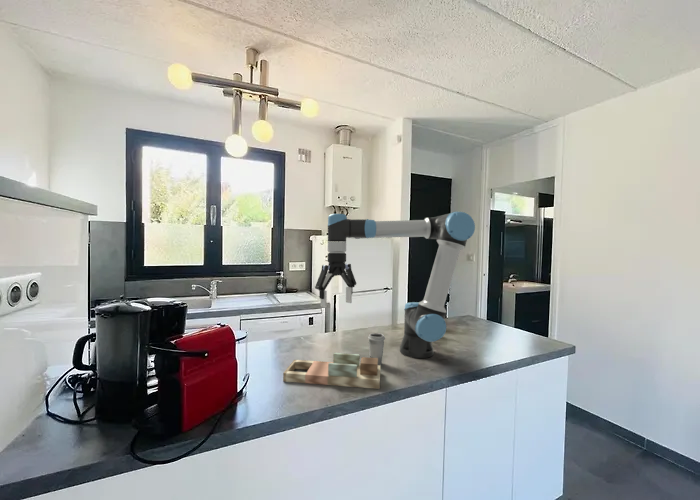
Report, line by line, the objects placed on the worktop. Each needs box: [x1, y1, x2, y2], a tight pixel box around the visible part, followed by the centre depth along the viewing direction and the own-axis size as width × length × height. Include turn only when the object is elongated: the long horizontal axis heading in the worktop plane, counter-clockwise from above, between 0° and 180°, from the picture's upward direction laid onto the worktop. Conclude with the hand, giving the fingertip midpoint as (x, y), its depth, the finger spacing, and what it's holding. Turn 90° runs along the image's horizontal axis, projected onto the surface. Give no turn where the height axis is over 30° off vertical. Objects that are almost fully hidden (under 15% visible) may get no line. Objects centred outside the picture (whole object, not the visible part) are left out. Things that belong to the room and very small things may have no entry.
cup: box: [367, 332, 386, 366], centre depth 128 cm, size 7×7×12 cm
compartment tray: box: [282, 352, 381, 390], centre depth 114 cm, size 34×13×7 cm, turn 83°
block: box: [360, 356, 378, 376], centre depth 113 cm, size 6×6×4 cm
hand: (336, 304), depth 126 cm, fingers open, 13 cm apart
